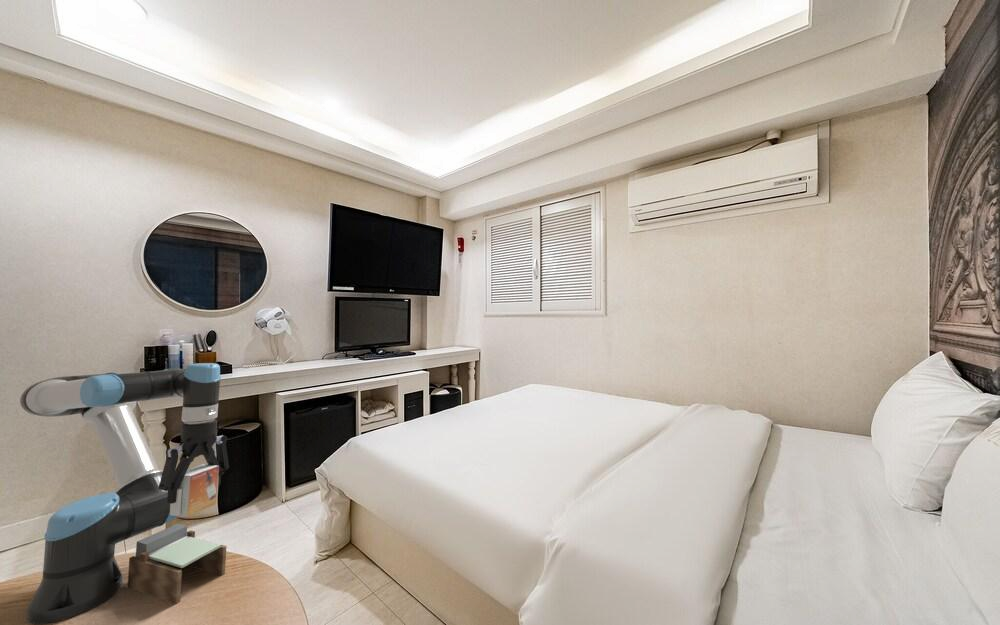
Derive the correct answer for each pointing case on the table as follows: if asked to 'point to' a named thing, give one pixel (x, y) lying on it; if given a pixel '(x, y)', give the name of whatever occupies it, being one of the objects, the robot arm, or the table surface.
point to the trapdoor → (174, 547)
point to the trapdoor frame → (169, 573)
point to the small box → (199, 489)
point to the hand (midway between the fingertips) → (194, 506)
